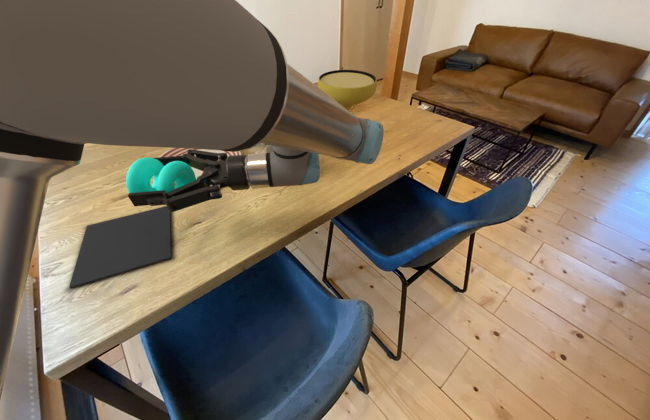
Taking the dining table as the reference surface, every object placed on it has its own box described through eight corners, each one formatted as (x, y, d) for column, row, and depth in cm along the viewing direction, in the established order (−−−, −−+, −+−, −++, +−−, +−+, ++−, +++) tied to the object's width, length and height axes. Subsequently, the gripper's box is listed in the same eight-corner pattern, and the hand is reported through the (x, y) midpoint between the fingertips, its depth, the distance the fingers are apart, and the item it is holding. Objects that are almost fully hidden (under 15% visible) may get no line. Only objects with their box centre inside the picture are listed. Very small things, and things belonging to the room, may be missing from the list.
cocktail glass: (377, 147, 102) (387, 75, 85) (351, 170, 91) (357, 92, 74) (337, 134, 110) (339, 66, 93) (309, 153, 99) (305, 80, 82)
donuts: (166, 184, 66) (148, 147, 59) (203, 189, 65) (189, 152, 58) (137, 212, 59) (112, 173, 52) (179, 218, 57) (159, 180, 51)
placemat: (70, 288, 59) (68, 287, 58) (88, 227, 72) (87, 225, 72) (171, 258, 64) (170, 257, 64) (170, 206, 78) (169, 205, 78)
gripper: (248, 223, 53) (129, 235, 51) (254, 157, 71) (166, 164, 69) (239, 193, 48) (108, 204, 46) (248, 130, 66) (154, 136, 64)
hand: (143, 180), depth 57 cm, fingers closed on donuts, 12 cm apart
